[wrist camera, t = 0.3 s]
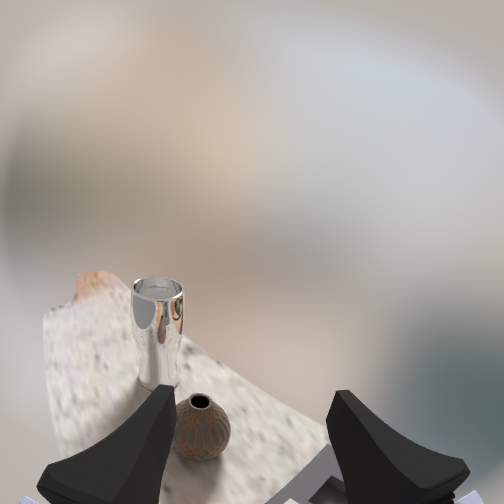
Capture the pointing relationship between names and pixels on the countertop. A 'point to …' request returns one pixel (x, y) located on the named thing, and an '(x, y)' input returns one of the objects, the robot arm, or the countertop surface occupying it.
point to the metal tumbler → (157, 328)
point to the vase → (200, 428)
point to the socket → (315, 483)
